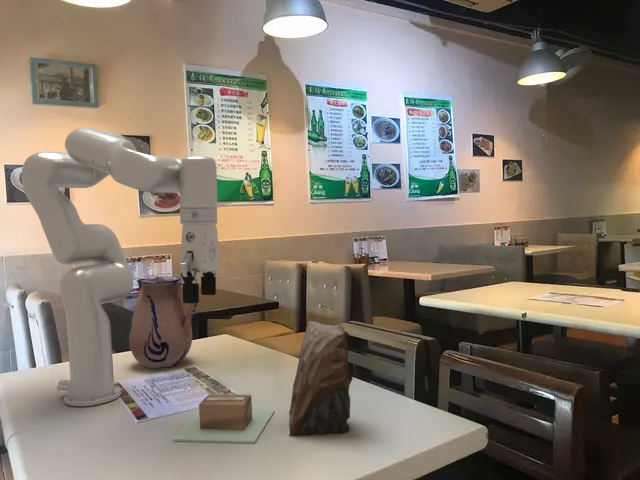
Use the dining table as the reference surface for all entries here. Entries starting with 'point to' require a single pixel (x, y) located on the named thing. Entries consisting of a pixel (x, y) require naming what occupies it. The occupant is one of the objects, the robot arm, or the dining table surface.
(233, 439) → the mat
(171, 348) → the ceramic pitcher
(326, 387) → the brown rock
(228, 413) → the cardboard box
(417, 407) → the dining table surface
